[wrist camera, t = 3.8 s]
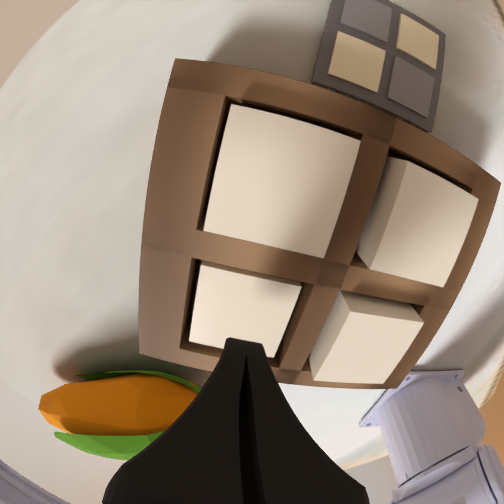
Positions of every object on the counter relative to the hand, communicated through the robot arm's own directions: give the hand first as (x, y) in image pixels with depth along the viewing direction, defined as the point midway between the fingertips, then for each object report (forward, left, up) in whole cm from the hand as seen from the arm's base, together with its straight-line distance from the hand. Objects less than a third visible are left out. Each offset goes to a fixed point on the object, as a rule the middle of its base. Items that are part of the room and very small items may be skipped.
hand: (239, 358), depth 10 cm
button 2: (-6, -6, -3) cm, 10 cm away
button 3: (0, 0, -5) cm, 5 cm away
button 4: (0, -6, -3) cm, 7 cm away
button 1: (-6, 0, -3) cm, 7 cm away
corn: (+8, +13, -6) cm, 17 cm away
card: (-4, -15, -6) cm, 16 cm away
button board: (-3, -3, -6) cm, 7 cm away
